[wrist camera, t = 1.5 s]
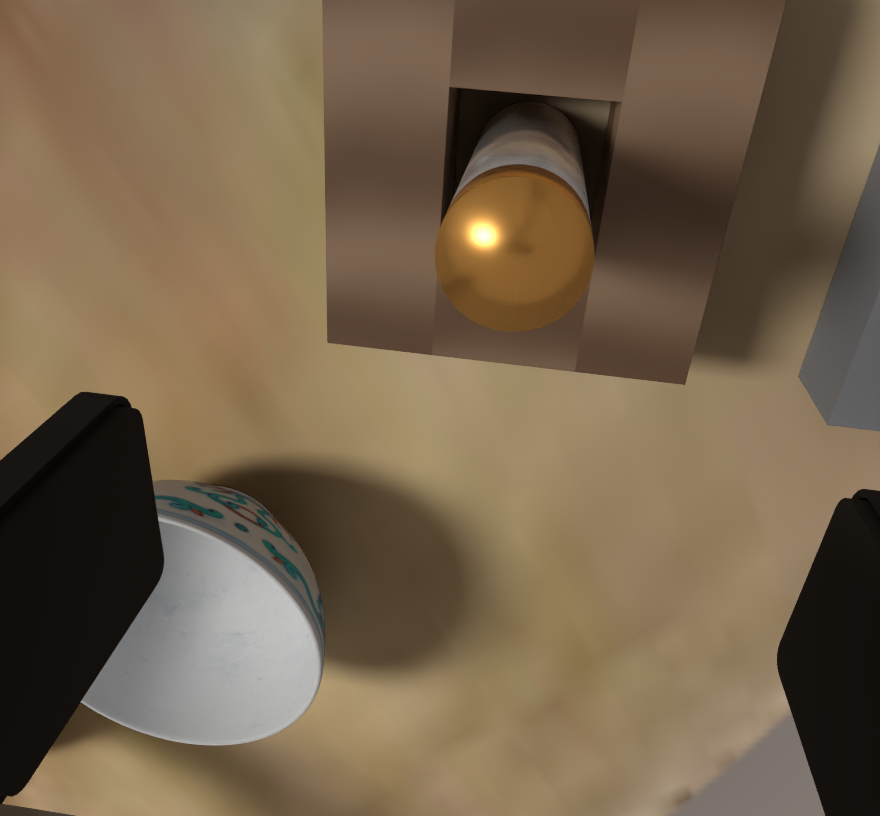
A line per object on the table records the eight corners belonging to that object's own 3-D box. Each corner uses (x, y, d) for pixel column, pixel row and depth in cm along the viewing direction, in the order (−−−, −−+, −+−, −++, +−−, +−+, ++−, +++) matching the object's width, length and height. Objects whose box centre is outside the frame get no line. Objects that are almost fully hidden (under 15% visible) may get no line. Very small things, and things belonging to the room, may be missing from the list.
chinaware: (40, 489, 41) (-58, 588, 35) (235, 367, 36) (162, 458, 29) (218, 661, 47) (163, 774, 40) (413, 579, 41) (386, 695, 34)
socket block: (352, -70, 26) (321, -75, 23) (764, -40, 25) (797, -42, 22) (350, 304, 33) (327, 342, 30) (671, 340, 32) (685, 384, 29)
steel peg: (481, 97, 28) (439, 170, 18) (588, 106, 28) (607, 186, 18) (472, 202, 30) (430, 323, 20) (571, 212, 30) (580, 339, 20)
